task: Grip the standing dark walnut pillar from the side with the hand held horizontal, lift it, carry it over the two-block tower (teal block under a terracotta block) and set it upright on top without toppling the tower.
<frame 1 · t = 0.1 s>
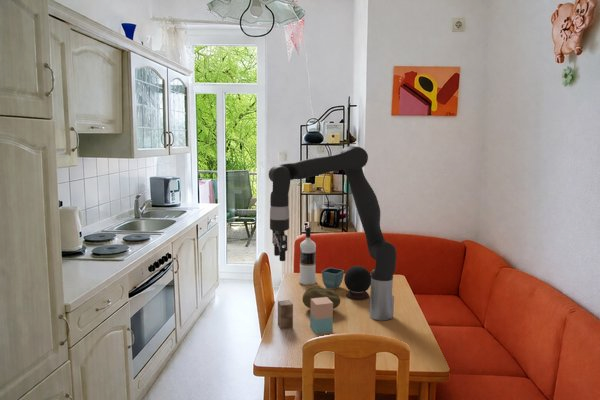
hand: (279, 258, 174), 29 cm above the table, tool pointing down, fingers open, 8 cm apart
pillar: (285, 326, 181), on the table
decorative stone: (321, 310, 199), on the table
vodka: (307, 283, 236), on the table
tower top: (321, 315, 178), point 6 cm above the table, touching tower base
black ball on stand: (357, 296, 217), on the table
tower base: (321, 329, 179), on the table, touching tower top
flower pot: (332, 288, 229), on the table
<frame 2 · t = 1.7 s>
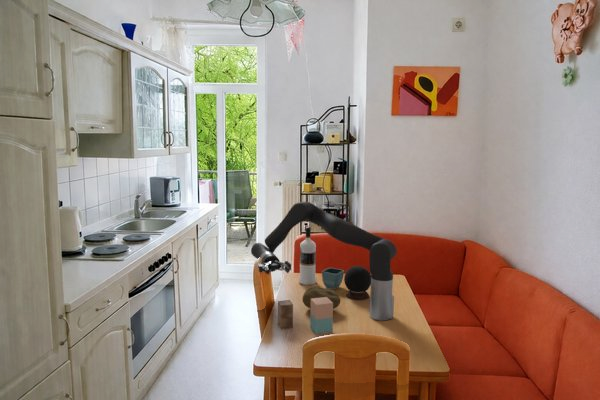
hand: (278, 271, 189), 20 cm above the table, tool horizontal, fingers open, 8 cm apart
nothing on the table moved.
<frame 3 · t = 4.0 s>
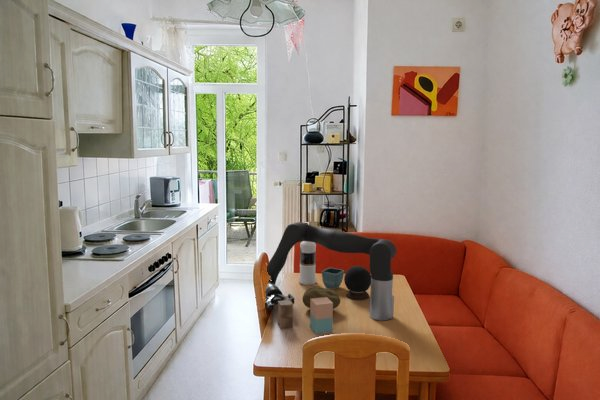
hand: (281, 306, 187), 6 cm above the table, tool horizontal, fingers open, 8 cm apart
nothing on the table moved.
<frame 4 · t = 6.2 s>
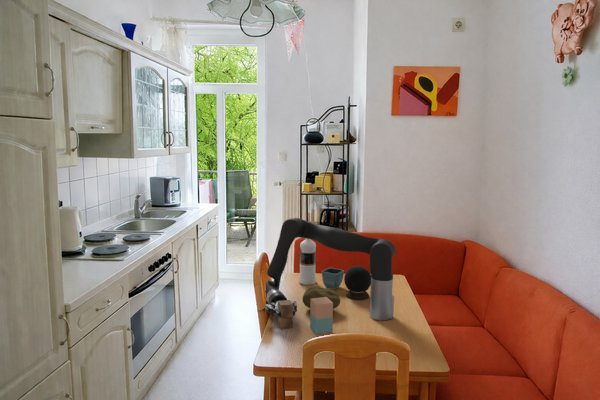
hand: (287, 314, 178), 6 cm above the table, tool horizontal, fingers closed on pillar, 5 cm apart
pillar: (285, 326, 181), on the table, touching gripper
everything else where it was.
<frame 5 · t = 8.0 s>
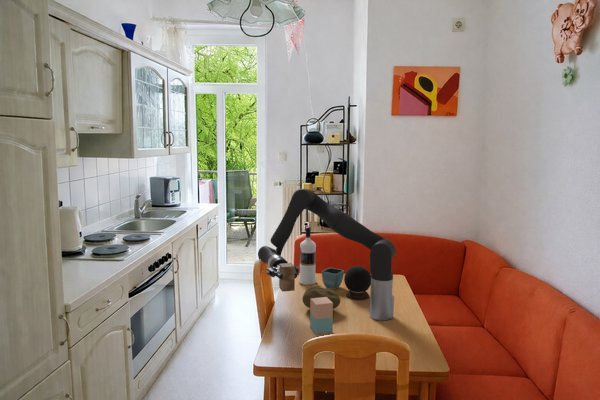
hand: (288, 276, 176), 22 cm above the table, tool horizontal, fingers closed on pillar, 5 cm apart
pillar: (286, 289, 179), point 16 cm above the table, touching gripper
everything else where it was.
when the fingers open (19 cm above the table, at t = 10.0 s): pillar stays where it is, resting on tower top.
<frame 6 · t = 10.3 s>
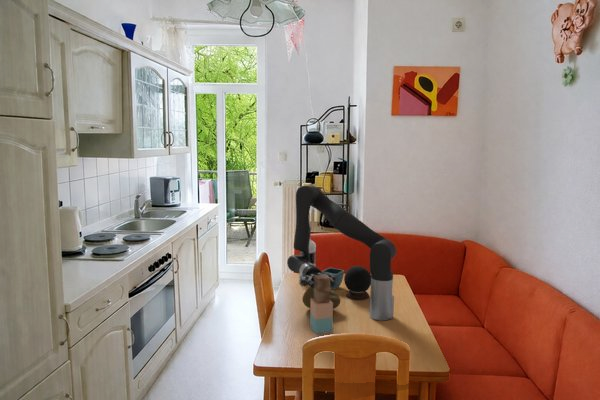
hand: (323, 285, 174), 19 cm above the table, tool horizontal, fingers open, 8 cm apart
pillar: (321, 300, 177), point 12 cm above the table, touching tower top
tower top: (321, 315, 178), point 6 cm above the table, touching pillar, tower base
everything else where it was.
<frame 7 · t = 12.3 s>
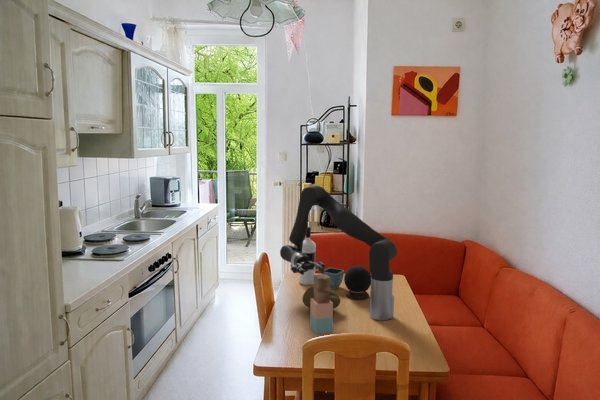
hand: (312, 271, 186), 21 cm above the table, tool horizontal, fingers open, 8 cm apart
nothing on the table moved.
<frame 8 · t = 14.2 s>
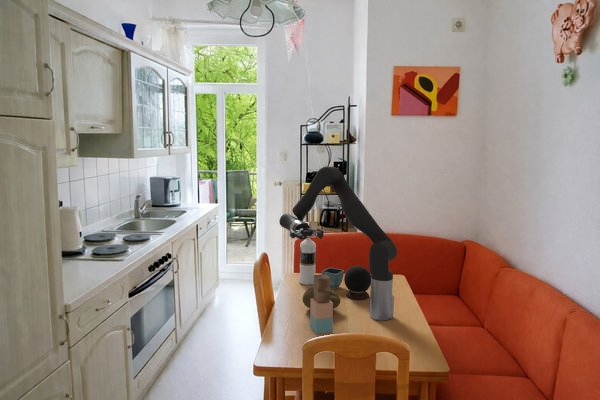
hand: (311, 236, 186), 35 cm above the table, tool horizontal, fingers open, 8 cm apart
nothing on the table moved.
at the end: pillar 0.1 cm off-centre on the tower base, point 12.0 cm above the tower base's base; pillar tilted 0°; tower top tilted 0° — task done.
